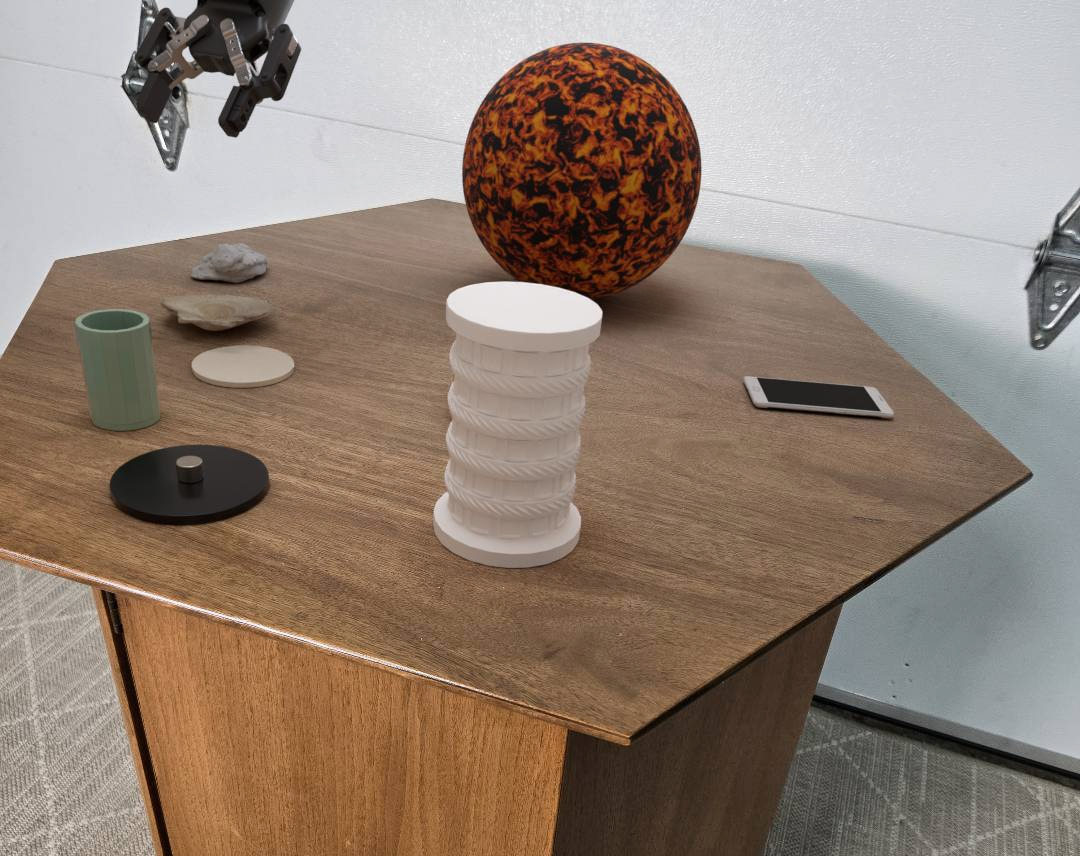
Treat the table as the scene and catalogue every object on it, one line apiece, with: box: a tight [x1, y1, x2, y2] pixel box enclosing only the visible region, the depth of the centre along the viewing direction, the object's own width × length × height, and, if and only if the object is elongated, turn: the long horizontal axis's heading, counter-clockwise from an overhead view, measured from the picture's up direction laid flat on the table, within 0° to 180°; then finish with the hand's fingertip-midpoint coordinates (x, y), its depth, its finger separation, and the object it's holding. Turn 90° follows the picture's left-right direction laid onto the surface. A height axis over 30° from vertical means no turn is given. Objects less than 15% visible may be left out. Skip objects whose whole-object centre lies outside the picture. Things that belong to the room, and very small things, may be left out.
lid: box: [108, 444, 270, 526], centre depth 78 cm, size 12×12×2 cm
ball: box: [461, 42, 702, 300], centre depth 123 cm, size 30×30×30 cm
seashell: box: [159, 294, 276, 332], centre depth 109 cm, size 12×12×3 cm
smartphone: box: [742, 375, 895, 419], centre depth 105 cm, size 8×1×15 cm
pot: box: [74, 308, 162, 432], centre depth 86 cm, size 6×6×9 cm
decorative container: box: [432, 281, 603, 569], centre depth 73 cm, size 12×12×18 cm
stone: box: [190, 242, 270, 284], centre depth 124 cm, size 10×5×10 cm
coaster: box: [191, 344, 295, 389], centre depth 99 cm, size 10×10×1 cm
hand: (185, 123), depth 85 cm, fingers open, 8 cm apart
